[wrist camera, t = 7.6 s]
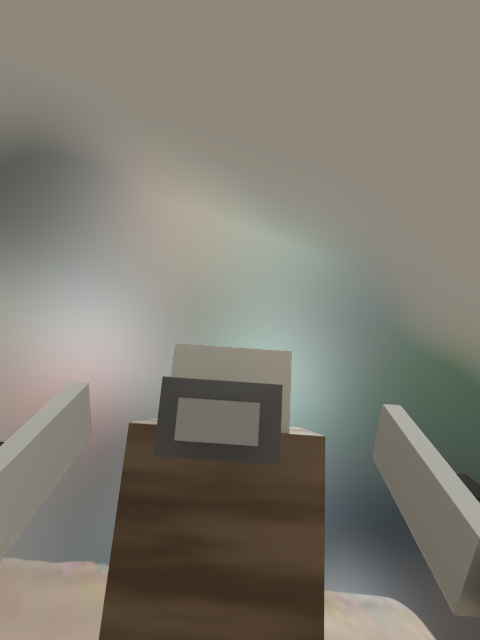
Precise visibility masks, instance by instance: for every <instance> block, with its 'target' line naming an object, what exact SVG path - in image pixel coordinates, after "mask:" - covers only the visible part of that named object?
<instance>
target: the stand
mask: <svg viewBox="0 0 480 640" xmlns="http://www.w3.org/2000/svg"><path fill="white" fill-rule="evenodd" d="M157 420H158V418H154V419H149V420H143V421H137V422H131V423H129V428H128V435H127V442H126V449H125V457H124V463H123V471H122V478H121V485H120V492H119V499H118V506H117V514H116V521H115V528H114V535H113V542H112V550H111V556H110V564H109V571H108V578H107V585H106V592H105V599H104V607H103V614H102V621H101V628H100V635H99V640H324V541H325V534H324V533H325V436H323V435H320V434H317V433H314V432H311V431H308V430H306V429H303V428H300V427H289V433H281V443H280V465H269V464H255V463H240V462H226V461H212V460H197V459H183V458H169V457H155V456H153V454H154V445H155V437H156V429H157Z"/></svg>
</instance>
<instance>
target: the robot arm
mask: <svg viewBox="0 0 480 640" xmlns="http://www.w3.org/2000/svg"><path fill="white" fill-rule="evenodd" d="M91 437H92V427H91V413H90V398H89V384H88V383H78V382H71V383H70V384H69V385H68V386H67V387H65V388H64V389H63V390H62V391H61V392H60V393H59V394H58V395H57V396H56V397H54V398H53V399H52V400H51V401H50V402H49V403H48V404H47V405H46V406H44V407H43V408H42V409H41V410H40V411H39V412H38V413H37V414H36V415H34V416H33V417H32V418H31V419H30V420H29V421H28V422H27V423H26V424H25V425H24V426H22V427H21V428H20V429H19V430H18V431H17V432H16V433H15V434H13V435H12V436H11V437H10V438H9V439H8V440H7V441H6V442H0V562H1V560H2V559H3V557H4V556H5V555H6V553H7V552H8V551H9V549H10V548H11V546H12V545H13V544H14V542H15V541H16V540H17V538H18V537H19V536H20V534H21V533H22V532H23V530H24V529H25V527H26V526H27V525H28V523H29V522H30V521H31V519H32V518H33V517H34V515H35V514H36V512H37V511H38V510H39V508H40V507H41V506H42V504H43V503H44V502H45V500H46V499H47V497H48V496H49V495H50V493H51V492H52V491H53V489H54V488H55V486H56V485H57V484H58V482H59V481H60V480H61V478H62V477H63V476H64V474H65V473H66V471H67V470H68V469H69V467H70V466H71V465H72V463H73V462H74V461H75V459H76V458H77V456H78V455H79V454H80V452H81V451H82V450H83V448H84V447H85V446H86V444H87V443H88V441H89V440H90V439H91ZM372 457H373V459H374V461H375V463H376V465H377V467H378V469H379V471H380V473H381V474H382V477H383V478H384V480H385V482H386V484H387V486H388V488H389V490H390V491H391V494H392V496H393V498H394V500H395V502H396V504H397V505H398V508H399V509H400V511H401V513H402V515H403V517H404V519H405V521H406V523H407V525H408V527H409V529H410V531H411V533H412V535H413V537H414V538H415V540H416V542H417V544H418V546H419V548H420V550H421V552H422V554H423V556H424V558H425V559H426V562H427V564H428V566H429V567H430V570H431V571H432V573H433V575H434V577H435V579H436V581H437V583H438V585H439V587H440V589H441V591H442V593H443V594H444V597H445V599H446V601H447V602H448V604H449V606H450V608H451V610H452V612H453V614H454V615H463V616H476V617H480V484H478V483H477V482H475V481H474V480H473V479H471V478H470V477H469V476H467V475H464V474H456V473H455V472H454V471H453V470H452V468H451V467H450V466H449V465H448V464H447V462H446V461H445V460H444V459H443V457H442V456H441V455H440V454H439V452H438V451H437V450H436V449H435V447H434V446H433V445H432V444H431V443H430V441H429V440H428V439H427V438H426V436H425V435H424V434H423V433H422V431H421V430H420V429H419V428H418V426H417V425H416V424H415V423H414V422H413V420H412V419H411V418H410V417H409V415H408V414H407V413H406V412H405V411H404V409H403V408H402V407H401V406H400V405H388V404H383V406H382V411H381V416H380V422H379V426H378V431H377V437H376V441H375V446H374V451H373V456H372Z"/></svg>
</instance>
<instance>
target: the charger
mask: <svg viewBox="0 0 480 640" xmlns="http://www.w3.org/2000/svg"><path fill="white" fill-rule="evenodd" d="M291 358H292V352H291V351H276V350H261V349H246V348H232V347H217V346H202V345H188V344H175V349H174V357H173V366H172V375H171V377H163V379H162V387H161V396H160V404H159V412H158V420H157V429H156V437H155V445H154V454H153V456H155V457H169V458H183V459H197V460H212V461H226V462H240V463H255V464H269V465H280V443H281V433H289V423H290V422H289V421H290V390H291Z"/></svg>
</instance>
